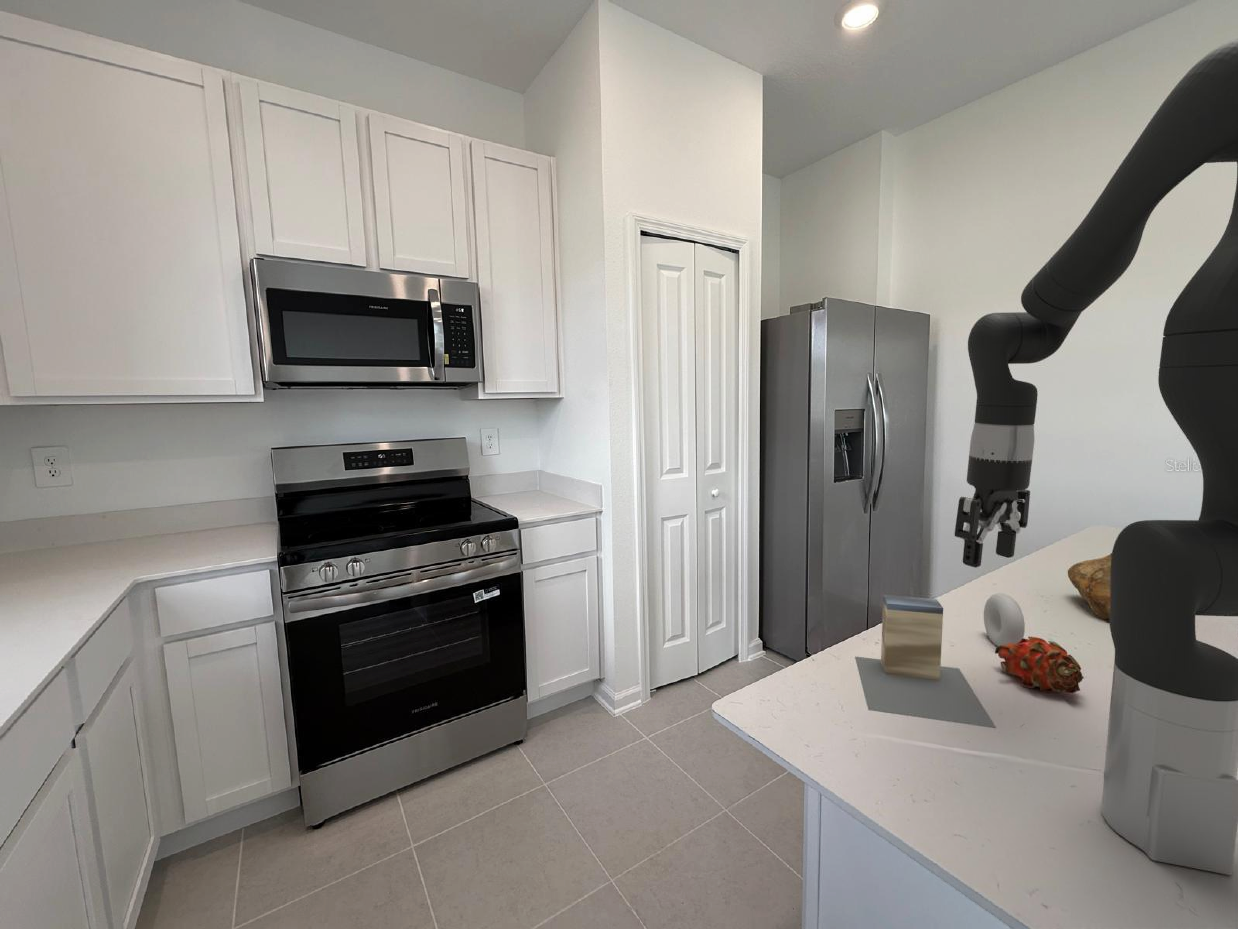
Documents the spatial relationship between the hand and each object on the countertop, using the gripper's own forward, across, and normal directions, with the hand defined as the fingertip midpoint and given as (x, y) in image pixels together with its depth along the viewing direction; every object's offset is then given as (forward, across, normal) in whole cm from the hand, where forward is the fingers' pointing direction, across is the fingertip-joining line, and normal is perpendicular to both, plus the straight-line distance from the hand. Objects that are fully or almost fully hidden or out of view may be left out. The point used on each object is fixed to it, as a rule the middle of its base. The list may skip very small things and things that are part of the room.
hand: (988, 560), depth 80 cm
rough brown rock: (+23, +58, +4) cm, 62 cm away
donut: (+22, +19, +6) cm, 30 cm away
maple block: (+21, -5, +8) cm, 23 cm away
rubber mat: (+21, -8, +4) cm, 23 cm away
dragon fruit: (+21, +9, -4) cm, 24 cm away
